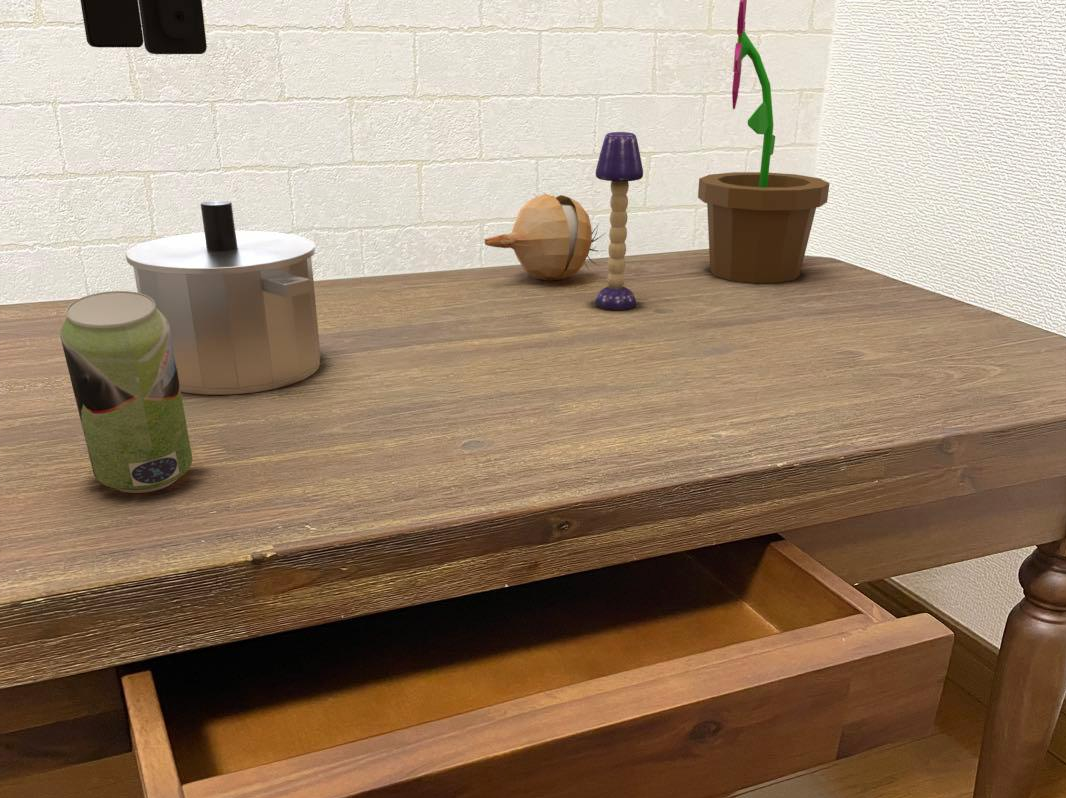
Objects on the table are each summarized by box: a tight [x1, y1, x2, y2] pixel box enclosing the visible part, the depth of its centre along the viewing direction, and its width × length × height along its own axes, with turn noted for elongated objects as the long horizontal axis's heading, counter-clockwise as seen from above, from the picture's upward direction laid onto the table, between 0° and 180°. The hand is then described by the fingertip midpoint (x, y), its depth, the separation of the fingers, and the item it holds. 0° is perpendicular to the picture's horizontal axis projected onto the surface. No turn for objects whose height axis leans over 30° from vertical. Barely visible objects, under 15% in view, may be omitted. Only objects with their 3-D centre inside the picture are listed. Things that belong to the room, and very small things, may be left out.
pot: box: [132, 256, 322, 396], centre depth 86 cm, size 14×19×10 cm
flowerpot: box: [697, 0, 831, 284], centre depth 114 cm, size 14×14×30 cm
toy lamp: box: [594, 131, 644, 311], centre depth 103 cm, size 5×5×17 cm
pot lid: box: [125, 199, 316, 275], centre depth 83 cm, size 15×15×5 cm
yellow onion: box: [483, 193, 606, 282], centre depth 115 cm, size 9×9×15 cm
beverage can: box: [60, 290, 193, 494], centre depth 64 cm, size 6×7×12 cm
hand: (144, 50), depth 59 cm, fingers open, 9 cm apart
